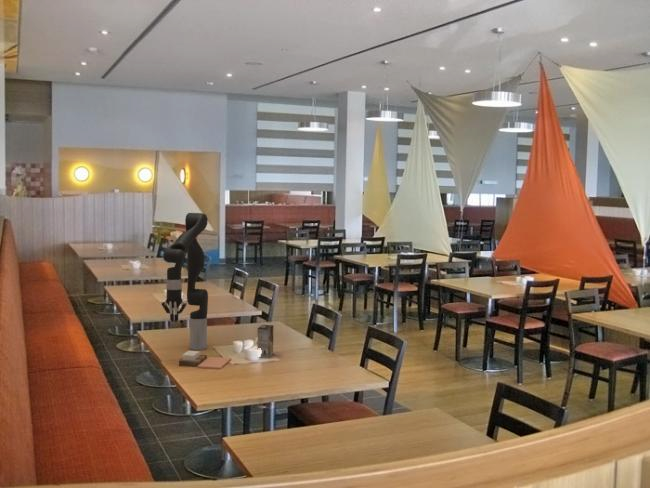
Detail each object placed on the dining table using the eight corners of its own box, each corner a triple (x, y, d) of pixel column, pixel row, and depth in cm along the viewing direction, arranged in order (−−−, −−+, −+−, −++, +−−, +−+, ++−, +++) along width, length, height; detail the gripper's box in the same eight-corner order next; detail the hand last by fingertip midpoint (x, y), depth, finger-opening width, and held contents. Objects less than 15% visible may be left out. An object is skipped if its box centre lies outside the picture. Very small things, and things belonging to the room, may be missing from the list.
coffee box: (262, 353, 372) (262, 324, 371) (273, 354, 371) (273, 325, 369) (257, 357, 363) (257, 327, 362) (268, 358, 362) (269, 328, 360)
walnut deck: (188, 358, 359) (188, 353, 359) (206, 359, 357) (206, 355, 357) (178, 365, 345) (178, 360, 345) (197, 366, 344) (197, 362, 343)
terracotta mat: (208, 358, 359) (208, 356, 359) (231, 360, 358) (231, 358, 357) (197, 368, 342) (197, 366, 342) (220, 369, 340) (220, 367, 340)
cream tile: (188, 355, 356) (188, 350, 356) (199, 355, 355) (199, 351, 355) (182, 359, 347) (182, 354, 347) (193, 360, 346) (193, 355, 346)
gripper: (189, 287, 352) (189, 320, 353) (164, 286, 354) (164, 319, 355) (184, 289, 344) (184, 323, 346) (158, 288, 346) (158, 322, 348)
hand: (174, 321), depth 351 cm, fingers closed
